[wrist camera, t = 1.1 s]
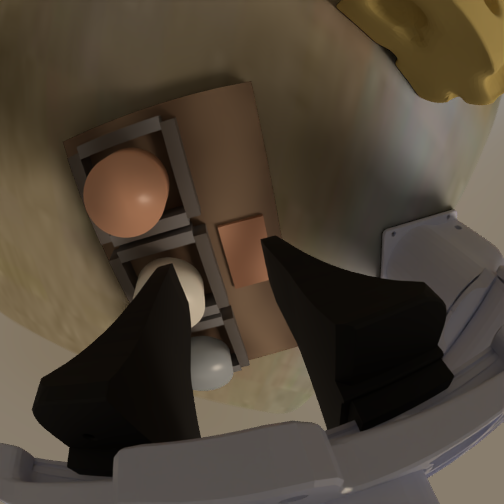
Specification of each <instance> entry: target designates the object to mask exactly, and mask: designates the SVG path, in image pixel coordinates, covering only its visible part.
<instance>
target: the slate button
mask: <svg viewBox="0 0 504 504" xmlns="http://www.w3.org/2000/svg"><path fill="white" fill-rule="evenodd" d="M232 376H233V367H232V361H231V356H230V350H229V348H228V346H227V345H226V344H225V343H224V342H223V341H221V340H219V339H217V338H214V337H209V336H196V337H192V338H191V381H192V389H193V390H198V391H208V390H214V389H217V388H220V387H222V386H224V385H226V384H227V383H228V382H229V381H230V380H231V378H232Z"/></svg>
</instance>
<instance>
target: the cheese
mask: <svg viewBox="0 0 504 504" xmlns="http://www.w3.org/2000/svg"><path fill="white" fill-rule="evenodd" d="M336 7H337V8H338V9H339V10H340V11H341V12H342V13H343V14H345V15H346V16H347V17H348V18H349V19H350V20H351V21H353V22H354V23H355V24H356V25H357V26H358V27H359V28H360V29H361V30H363V31H364V32H365V33H366V34H367V35H368V36H369V37H370V38H371V39H372V40H373V41H375V42H376V43H378V44H380V45H381V46H383V47H385V48H387V49H389V50H390V51H391V52H393V53H394V54H395V56H396V57H397V60H396V66H397V67H398V69H399V70H400V71H401V73H402V74H403V75H404V77H405V78H406V79H407V80H408V81H409V83H410V84H411V86H412V88H413V89H414V90H415V92H416V93H417V94H418V96H419V97H421V98H423V99H425V100H428V101H431V102H437V103H443V102H448V101H449V100H451V99H453V98H455V97H458V96H459V97H461V98H462V99H463V100H464V101H465V102H466V103H469V104H474V105H487V104H491V103H493V102H494V101H495V100H496V99H497V98H498V97H499V96H500V95H501V94H503V93H504V0H341V1H340V2H339V3H338V4H337V5H336Z"/></svg>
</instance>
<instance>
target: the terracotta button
mask: <svg viewBox="0 0 504 504" xmlns="http://www.w3.org/2000/svg"><path fill="white" fill-rule="evenodd" d="M168 194H169V177H168V174H167V171H166V169H165V167H164V165H163V164H162V162H161V161H160V160H159V159H158V158H157V157H156V156H155V155H154V154H152V153H150V152H149V151H146V150H144V149H140V148H124V149H120V150H118V151H116V152H114V153H112V154H111V155H109V156H107V157H106V158H104V159H103V160H101V161H100V162H99V163H97V164H96V165H95V166H94V167H93V169H92V170H91V171H90V173H89V174H88V177H87V179H86V182H85V185H84V192H83V197H84V204H85V208H86V211H87V213H88V215H89V217H90V218H91V220H92V221H93V222H94V223H95V225H97V226H98V227H99V228H100V229H101V230H103V231H104V232H106V233H108V234H110V235H113V236H116V237H122V238H129V237H135V236H139V235H141V234H144V233H146V232H147V231H149V230H150V229H151V228H153V227H154V226H155V225H156V223H157V222H158V221H159V219H160V218H161V216H162V214H163V211H164V208H165V205H166V201H167V198H168Z"/></svg>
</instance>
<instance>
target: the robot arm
mask: <svg viewBox="0 0 504 504" xmlns="http://www.w3.org/2000/svg"><path fill="white" fill-rule="evenodd" d="M393 232H394V233H393ZM392 233H393V234H392ZM260 241H261V245H262V250H263V255H264V259H265V264H266V269H267V274H268V278H269V283H270V286H271V288H272V291H273V294H274V297H275V300H276V303H277V305H278V307H279V309H280V311H281V313H282V315H283V317H284V319H285V321H286V323H287V325H288V327H289V329H290V331H291V333H292V335H293V337H294V339H295V341H296V343H297V345H298V347H299V349H300V352H301V354H302V357H303V360H304V362H305V365H306V368H307V371H308V374H309V376H310V379H311V382H312V385H313V388H314V391H315V394H316V397H317V400H318V402H319V405H320V408H321V411H322V414H323V417H324V420H325V423H326V427H327V430H326V431H324V430H323V429H322V428H321V427H320V426H319V425H318V424H315V423H312V422H311V423H310V422H300V421H289V422H282V423H275V424H269V425H263V426H259V427H254V428H250V429H246V430H241V431H236V432H231V433H226V434H221V435H216V436H210V437H203V438H201V436H200V431H199V426H198V421H197V416H196V409H195V403H194V396H193V389H192V381H191V317H190V309H189V302H188V300H187V298H186V295H185V293H184V291H183V288H182V286H181V283H180V281H179V278H178V276H177V273H176V271H175V268H174V266H173V263H170V264H167V265H163V266H159V267H157V268H156V270H155V271H154V272H153V273H152V275H151V276H150V277H149V279H148V280H147V282H146V283H145V284H144V286H143V287H142V288H141V290H140V291H139V292H138V294H137V295H136V296H135V298H134V299H133V300H132V301H131V303H130V304H129V305H128V306H127V308H126V309H125V310H124V311H123V313H122V314H121V315H120V316H119V317H118V318H117V320H116V321H115V322H114V323H113V324H112V325H111V326H110V327H109V328H108V329H107V330H106V331H105V332H104V333H103V334H102V335H101V336H99V337H98V338H97V339H96V340H95V341H94V342H93V343H92V344H90V345H89V346H88V347H87V348H86V349H85V350H83V351H82V352H81V353H79V354H78V355H77V356H76V357H74V358H73V359H71V360H70V361H69V362H67V363H66V364H64V365H63V366H61V367H59V368H58V369H56V370H54V371H53V372H51V373H50V374H48V375H46V376H44V377H43V378H41V381H40V384H39V387H38V391H37V394H36V397H35V401H34V404H33V408H32V411H33V414H34V416H35V418H36V419H37V421H38V422H39V423H40V424H41V425H42V426H43V427H44V428H45V429H46V430H47V431H49V432H50V433H51V434H52V435H54V436H55V437H56V438H58V439H59V440H60V441H62V442H63V443H64V444H66V445H67V446H68V447H70V448H69V455H68V462H61V461H53V460H45V459H40V458H34V457H33V456H32V455H31V454H29V453H28V452H27V451H25V450H23V449H22V448H20V447H17V446H14V445H9V444H4V443H0V501H1V502H3V503H5V504H439V502H438V499H437V497H436V495H435V493H434V491H433V489H432V487H431V485H430V483H429V481H428V479H427V478H428V477H430V476H432V475H433V474H435V473H437V472H438V471H440V470H441V469H443V468H444V467H446V466H447V465H449V464H450V463H452V462H453V461H454V460H456V459H457V458H459V457H460V456H462V455H463V454H464V453H466V452H467V451H468V450H470V449H471V448H472V447H474V446H475V445H476V444H478V443H479V442H480V441H481V440H483V439H484V438H485V437H486V436H487V435H489V434H490V433H491V432H492V431H493V430H494V429H496V428H497V427H498V426H499V425H500V424H501V423H503V422H504V258H503V257H502V254H501V253H500V251H499V250H498V249H497V248H496V247H495V245H493V244H492V243H491V242H489V241H488V240H486V239H485V238H484V237H482V236H480V235H479V234H478V233H476V232H475V231H473V230H472V229H470V228H469V227H467V226H466V225H464V224H463V223H461V222H459V221H458V220H457V211H456V210H454V209H452V210H449V211H446V212H442V213H439V214H436V215H432V216H429V217H426V218H422V219H419V220H415V221H412V222H409V223H405V224H402V225H398V226H395V227H391V228H388V229H386V230H385V231H384V232H383V235H382V261H381V278H377V277H372V276H367V275H363V274H359V273H355V272H351V271H348V270H344V269H341V268H339V267H336V266H333V265H330V264H328V263H325V262H323V261H321V260H319V259H316V258H314V257H312V256H310V255H308V254H306V253H304V252H303V251H301V250H299V249H297V248H295V247H294V246H292V245H291V244H289V243H287V242H286V241H284V240H283V239H281V238H279V237H278V236H276V235H275V236H271V237H267V238H263V239H260Z"/></svg>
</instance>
